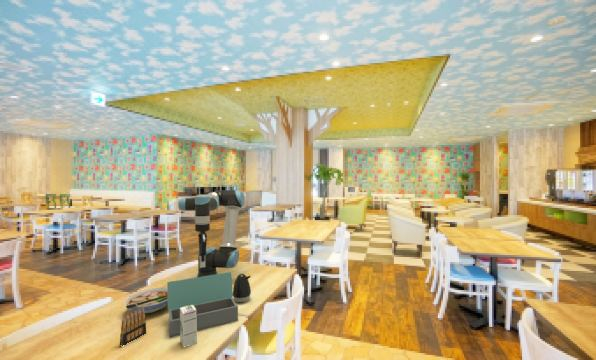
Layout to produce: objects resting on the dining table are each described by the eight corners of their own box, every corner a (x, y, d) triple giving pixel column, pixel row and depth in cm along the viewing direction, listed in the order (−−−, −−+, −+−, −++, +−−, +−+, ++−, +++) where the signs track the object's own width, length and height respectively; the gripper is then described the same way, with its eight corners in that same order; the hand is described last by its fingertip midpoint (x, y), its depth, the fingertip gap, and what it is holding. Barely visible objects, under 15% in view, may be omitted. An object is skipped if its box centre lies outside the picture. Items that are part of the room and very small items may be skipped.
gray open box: (169, 324, 127) (168, 310, 127) (231, 310, 141) (231, 297, 141) (170, 337, 117) (169, 321, 117) (237, 320, 131) (237, 306, 131)
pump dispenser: (247, 305, 147) (246, 277, 147) (229, 303, 149) (229, 276, 149) (253, 297, 157) (253, 271, 157) (237, 296, 159) (237, 270, 159)
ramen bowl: (168, 296, 159) (168, 282, 159) (183, 309, 143) (183, 294, 143) (118, 310, 142) (118, 295, 142) (129, 327, 125) (129, 310, 125)
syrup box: (197, 343, 113) (197, 308, 113) (182, 348, 109) (182, 312, 109) (193, 336, 117) (193, 303, 117) (179, 341, 114) (179, 307, 114)
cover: (167, 310, 127) (167, 309, 129) (232, 296, 142) (232, 296, 143) (167, 282, 130) (167, 282, 132) (231, 272, 145) (230, 271, 146)
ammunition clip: (143, 332, 121) (143, 306, 121) (146, 333, 120) (146, 306, 120) (119, 346, 111) (119, 317, 111) (122, 347, 110) (122, 318, 110)
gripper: (193, 222, 149) (193, 264, 149) (196, 225, 138) (196, 271, 137) (207, 221, 153) (207, 263, 152) (211, 224, 141) (211, 269, 141)
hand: (202, 267), depth 145 cm, fingers closed
